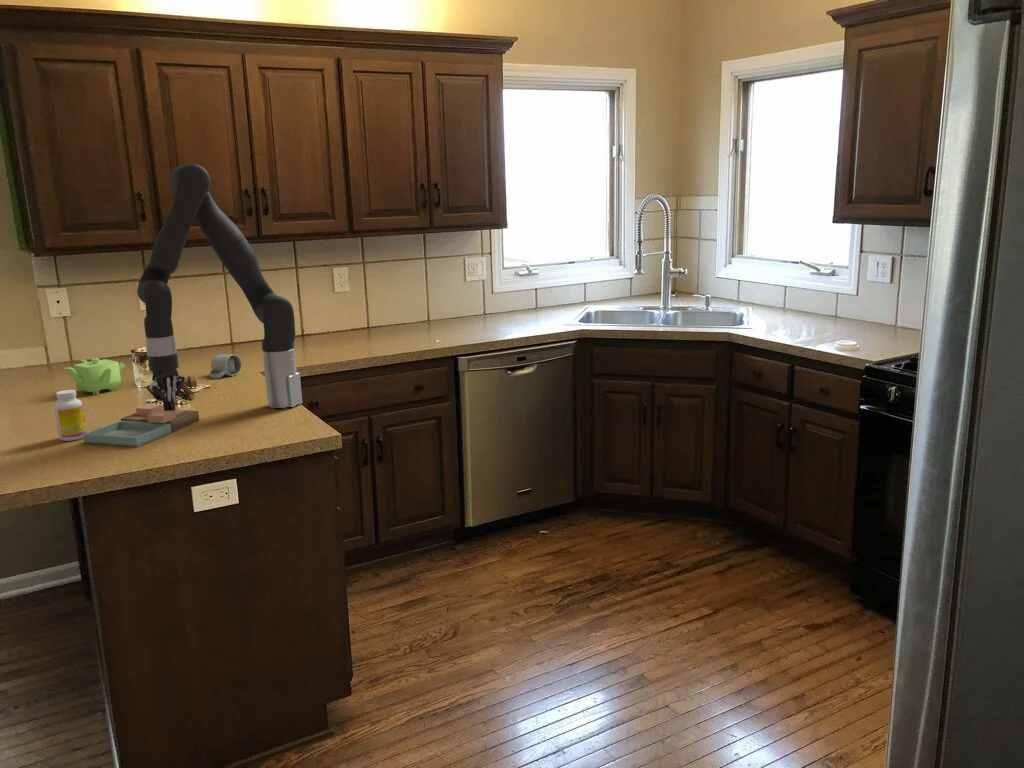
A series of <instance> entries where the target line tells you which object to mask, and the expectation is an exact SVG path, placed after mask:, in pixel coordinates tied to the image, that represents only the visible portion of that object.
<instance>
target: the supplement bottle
mask: <svg viewBox="0 0 1024 768" xmlns="http://www.w3.org/2000/svg"><path fill="white" fill-rule="evenodd" d="M55 397H56V399H57V401H56V402H55V403H54V405H53V407H54V408H53V409H54V416H55V420H56V426H57V431H58V432H57V433H58V437H59V440H60V441H63V442H73V441H78V440H82V439H84V438H83V434H85V433H88V432H87V431H88V430H87V427H86V420H85V413H84V408H83V402H82V400H80V399H79V398H77V390H75V389H66V390H65V389H64V390H60V391H58V392H55Z"/></svg>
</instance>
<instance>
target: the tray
mask: <svg viewBox="0 0 1024 768" xmlns="http://www.w3.org/2000/svg"><path fill="white" fill-rule="evenodd" d="M167 434H168V435H170V434H173V432H172V429H171V424H166V423H150V422H133V421H121V420H118V421H115V422H112V423H110V424H107V425H104V426H101V427H99V428H96V429H93V430H91V431H88V432H87V433H85V434H83V438H82V439H83V443H84V444H86V443H92V444H91V445H100V444H107V445H106V446H115V445H122V446H121V447H129V446H137V447H136V448H139V447H141V446H140V445H142V444H144V445H146V444H149V443H151V442H154V441H156V440H158V439H160V438H163V437H165V436H167ZM155 439H156V440H155ZM150 441H151V442H150ZM148 442H149V443H148ZM145 443H146V444H145ZM123 445H124V446H123ZM138 446H139V447H138ZM142 446H143V445H142Z"/></svg>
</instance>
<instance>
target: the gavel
mask: <svg viewBox="0 0 1024 768" xmlns="http://www.w3.org/2000/svg"><path fill="white" fill-rule="evenodd" d="M184 377H185V376H184ZM188 387H191V388H192V387H197V388H198V382H197V378H196V376H195V374H192V375H187V377H185V380H184V383H183V386H182V389H183V390H184V392H185V395H186V397H187V398H189V399H188V400H194V399H195V393H194V392H193V391H192V389H193V388H192V389H191V388H188ZM185 395H184V396H185ZM186 397H185V398H186ZM187 398H186V399H187Z"/></svg>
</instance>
